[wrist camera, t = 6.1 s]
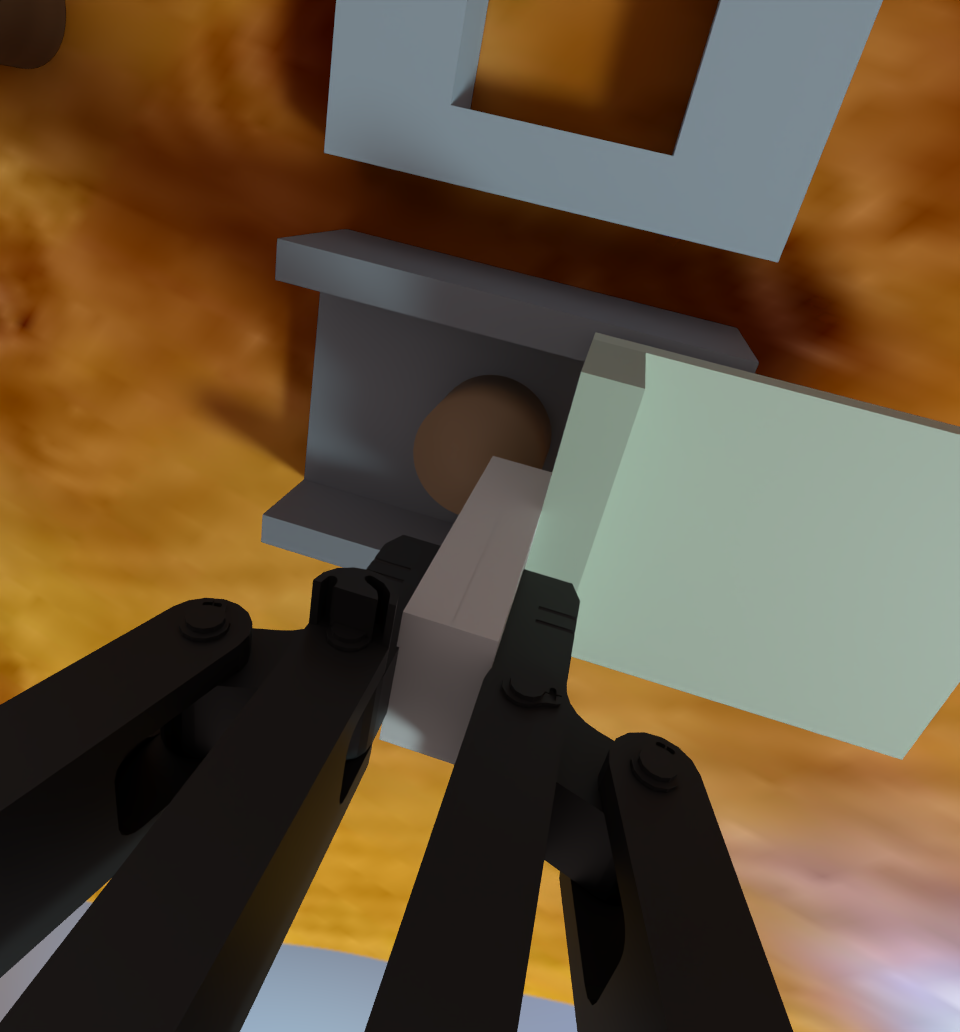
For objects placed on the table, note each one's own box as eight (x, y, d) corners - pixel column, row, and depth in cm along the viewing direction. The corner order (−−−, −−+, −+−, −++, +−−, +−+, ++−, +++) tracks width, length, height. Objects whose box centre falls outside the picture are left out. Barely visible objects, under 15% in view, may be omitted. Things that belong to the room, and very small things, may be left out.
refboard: (320, 487, 25) (261, 541, 21) (346, 228, 20) (277, 238, 16) (638, 582, 23) (636, 658, 20) (736, 328, 19) (759, 362, 15)
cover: (512, 620, 20) (484, 709, 16) (595, 332, 15) (581, 371, 12) (892, 738, 18) (946, 858, 15) (1089, 460, 14) (1222, 543, 11)
